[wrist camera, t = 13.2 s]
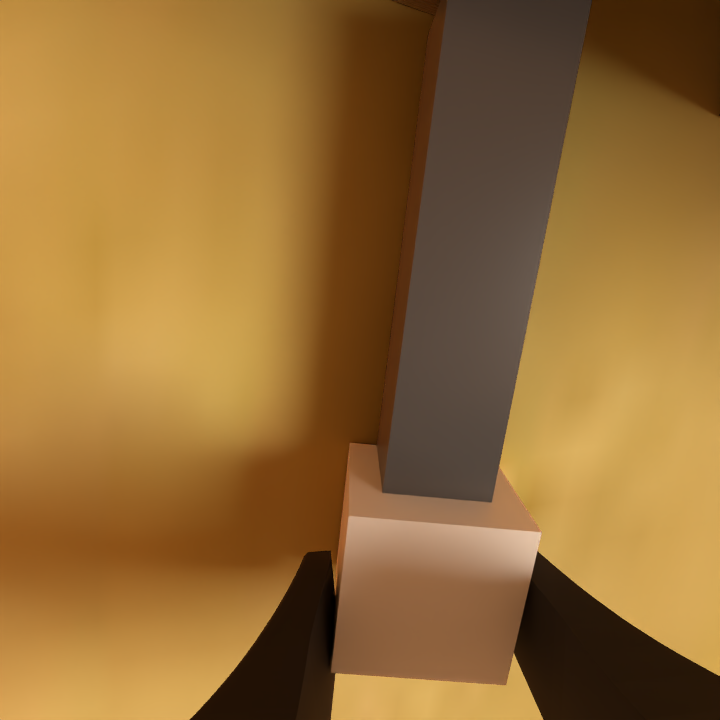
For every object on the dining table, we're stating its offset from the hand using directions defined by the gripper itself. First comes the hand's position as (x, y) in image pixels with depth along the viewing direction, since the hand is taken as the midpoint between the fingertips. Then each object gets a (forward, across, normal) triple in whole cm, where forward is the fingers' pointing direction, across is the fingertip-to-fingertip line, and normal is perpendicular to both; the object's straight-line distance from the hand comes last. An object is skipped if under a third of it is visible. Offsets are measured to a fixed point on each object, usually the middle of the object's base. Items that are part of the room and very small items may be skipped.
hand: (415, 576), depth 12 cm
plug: (+1, -1, -6) cm, 6 cm away
